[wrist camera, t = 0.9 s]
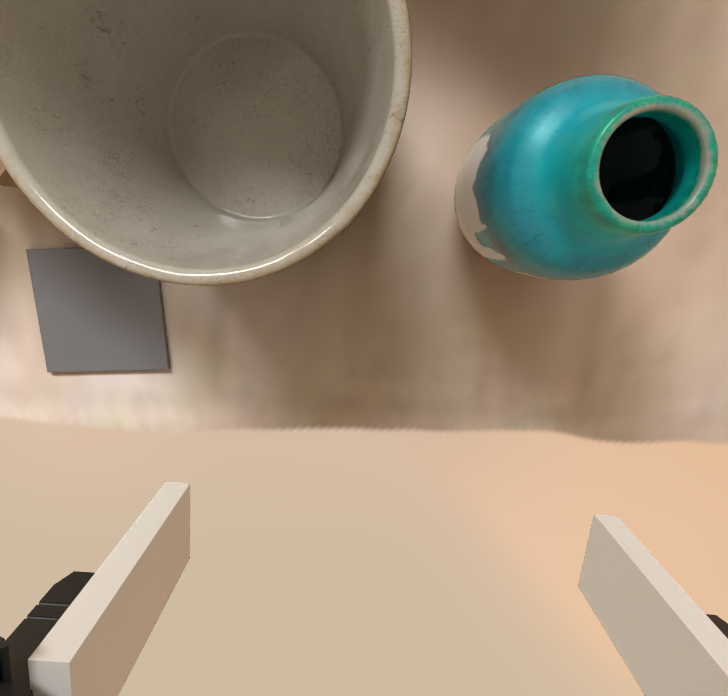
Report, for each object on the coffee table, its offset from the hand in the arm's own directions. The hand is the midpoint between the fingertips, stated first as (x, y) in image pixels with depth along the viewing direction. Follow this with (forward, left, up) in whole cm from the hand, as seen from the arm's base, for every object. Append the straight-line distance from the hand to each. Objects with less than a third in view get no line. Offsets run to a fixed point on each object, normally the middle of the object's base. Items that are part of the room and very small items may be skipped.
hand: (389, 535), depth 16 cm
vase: (-12, +11, -26) cm, 31 cm away
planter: (-17, -8, -26) cm, 32 cm away
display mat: (-4, -22, -26) cm, 34 cm away
